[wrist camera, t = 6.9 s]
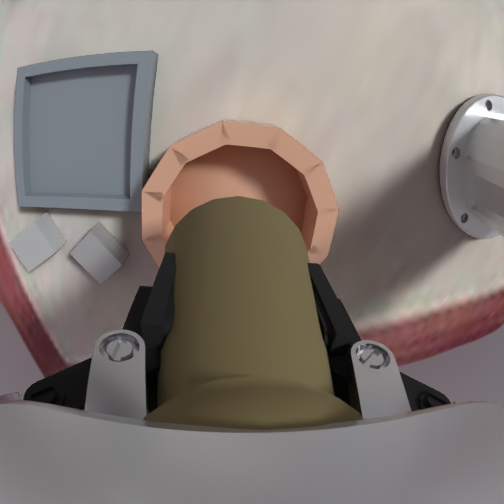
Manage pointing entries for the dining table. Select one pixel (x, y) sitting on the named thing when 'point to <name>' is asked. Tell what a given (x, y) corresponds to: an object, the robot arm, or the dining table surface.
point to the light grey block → (38, 241)
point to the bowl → (240, 182)
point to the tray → (84, 131)
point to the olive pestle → (244, 325)
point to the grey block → (100, 253)
